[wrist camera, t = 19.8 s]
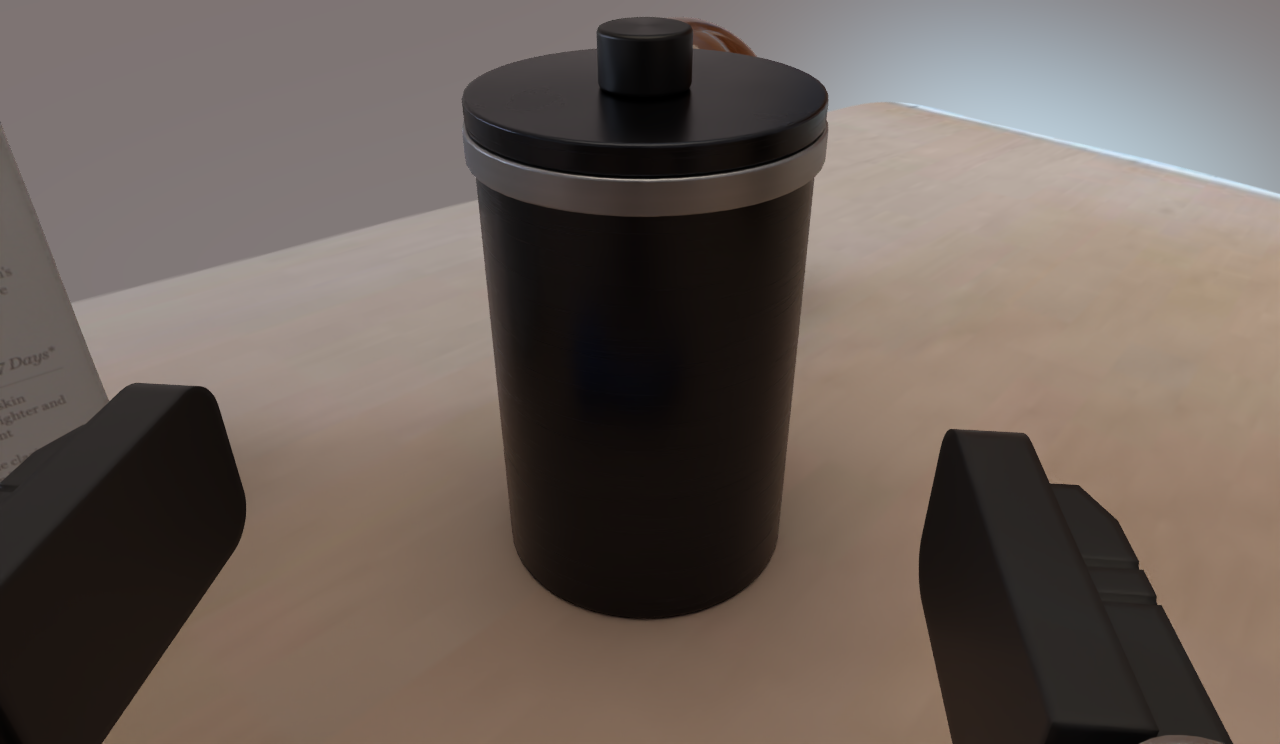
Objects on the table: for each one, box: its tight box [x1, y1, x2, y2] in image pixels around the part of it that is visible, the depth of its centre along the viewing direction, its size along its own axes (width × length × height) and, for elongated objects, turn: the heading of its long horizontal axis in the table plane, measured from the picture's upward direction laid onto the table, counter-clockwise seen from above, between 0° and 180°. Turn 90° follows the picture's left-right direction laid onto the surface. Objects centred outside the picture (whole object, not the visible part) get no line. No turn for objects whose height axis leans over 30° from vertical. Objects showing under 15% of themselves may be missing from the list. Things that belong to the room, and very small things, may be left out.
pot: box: [462, 17, 828, 618], centre depth 18 cm, size 6×6×11 cm
